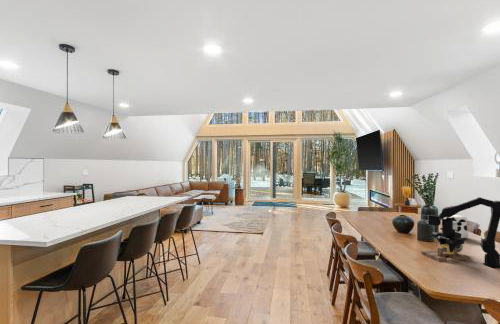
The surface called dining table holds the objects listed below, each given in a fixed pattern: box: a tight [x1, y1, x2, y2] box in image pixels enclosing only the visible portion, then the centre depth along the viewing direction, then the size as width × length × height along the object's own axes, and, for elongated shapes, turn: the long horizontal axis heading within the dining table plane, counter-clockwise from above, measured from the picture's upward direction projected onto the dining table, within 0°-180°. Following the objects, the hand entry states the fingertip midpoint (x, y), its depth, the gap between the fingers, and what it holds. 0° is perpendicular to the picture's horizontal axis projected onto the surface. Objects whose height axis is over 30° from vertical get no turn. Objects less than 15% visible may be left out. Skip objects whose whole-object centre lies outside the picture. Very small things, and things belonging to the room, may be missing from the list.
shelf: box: [420, 247, 467, 262], centre depth 173 cm, size 14×20×7 cm
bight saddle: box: [440, 244, 454, 254], centre depth 170 cm, size 5×4×5 cm
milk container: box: [443, 214, 469, 240], centre depth 220 cm, size 17×17×18 cm
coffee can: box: [445, 237, 464, 253], centre depth 178 cm, size 10×10×14 cm
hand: (447, 251), depth 170 cm, fingers closed on bight saddle, 5 cm apart
